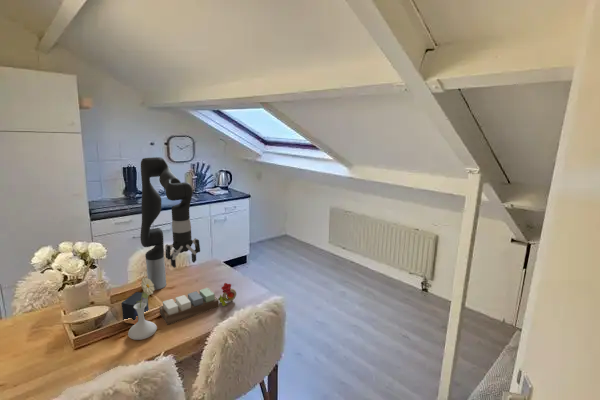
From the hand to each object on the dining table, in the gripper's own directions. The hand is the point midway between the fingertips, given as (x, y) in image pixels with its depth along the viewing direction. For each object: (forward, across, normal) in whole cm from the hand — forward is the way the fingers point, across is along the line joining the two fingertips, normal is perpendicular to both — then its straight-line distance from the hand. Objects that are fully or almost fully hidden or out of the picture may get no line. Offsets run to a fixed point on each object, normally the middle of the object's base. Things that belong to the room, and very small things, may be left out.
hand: (184, 264), depth 146 cm
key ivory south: (+27, +4, -10) cm, 29 cm away
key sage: (+27, -14, -10) cm, 32 cm away
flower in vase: (+29, +18, -5) cm, 35 cm away
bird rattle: (+30, -23, -5) cm, 38 cm away
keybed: (+29, -5, -10) cm, 31 cm away
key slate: (+27, -8, -10) cm, 29 cm away
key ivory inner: (+27, -2, -10) cm, 29 cm away
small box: (+30, +17, -19) cm, 39 cm away
